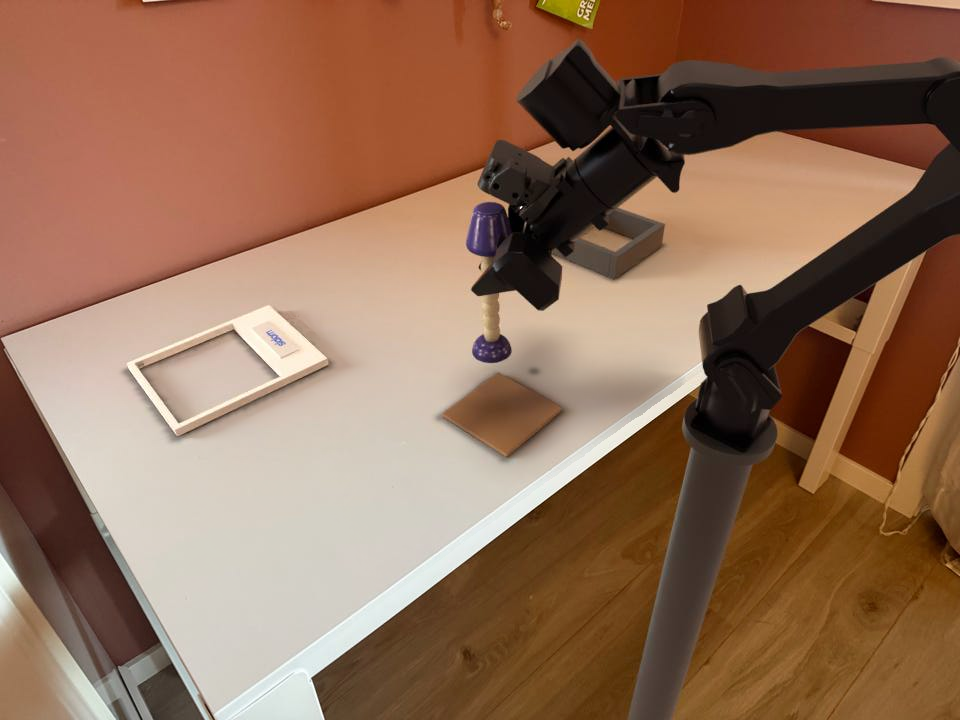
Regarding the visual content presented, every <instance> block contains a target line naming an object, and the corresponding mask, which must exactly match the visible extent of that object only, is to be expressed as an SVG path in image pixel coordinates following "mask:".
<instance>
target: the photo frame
mask: <svg viewBox="0 0 960 720" xmlns="http://www.w3.org/2000/svg"><path fill="white" fill-rule="evenodd" d="M233 330H234V332H235V333H237V334H238V335H239V337H241V338H242V340H243V341H245V343H247V344H248V346H249V347H250V348H251V349H252V350H253V351H254V352H255V353H256V354H257V355H258V356H259V357H260V359H262V360H263V361H264V362H265V363H266V364H267V365H268V366H269V367H270V368H271V369H272V370H273V372H274V373H276V375H277V376H278V377H276V378H274V379H272V380H270V381H267V382H265V383H263V384H260V385H259V386H256V387H254V388H252V389H250V390H249V391H245V392H243V393H241V394H240V395H238V396H235V397H233V398H231V399H228V400H227V401H224V402H222V403H220V404H218V405H216V406H214V407H212V408H210V409H207V410H205V411H202V412H201V413H198V414H196V415H194V416H192V417H190V418H188V419H186V420H183V421H182V422H180V423H179V422H178V421H177V419H176V418H175V417H174V415H173V414H172V413H171V411H170V410H169V408H168V407H167V406H166V404H165V403H164V402H163V400H162V399H161V397H160V396H159V395H158V393H157V392H156V391H155V389H154V388H153V387H152V385H151V384H150V383H149V381H148V380H147V379H146V377H145V376H144V375H143V373H142V371H141V370H140V369H142V368H145V367H146V366H149V365H152V364H154V363H156V362H159V361H161V360H163V359H166V358H168V357H171V356H173V355H176V354H177V353H181V352H183V351H186V350H187V349H190V348H192V347H194V346H197V345H200V344H202V343H204V342H207V341H209V340H211V339H214V338H217V337H219V336H221V335H224V334H226V333H228V332H231V331H233ZM126 365H127V368H128V370H129V371H130V373H131V374H132V376H133V378H135V380H136V381H137V383H138V385H139V386H140V387H141V388H142V390H143V391H144V392H145V394H146V395H147V396H148V398H149V399H150V401H151V402H152V403H153V405H154V406H155V408H156V409H157V411H158V412H159V413H160V414H161V416H162V417H163V419H164V420H165V422H166V423H167V424H168V426H169V427H170V429H171V430H172V431H173V433H174V434H175V435H176V437H180V436H182V435H184V434H186V433H187V432H190V431H192V430H194V429H196V428H199V427H201V426H202V425H204V424H207V423H209V422H211V421H213V420H215V419H217V418H220V417H222V416H223V415H225V414H227V413H230V412H232V411H234V410H236V409H239V408H240V407H242V406H244V405H247V404H249V403H251V402H254V401H255V400H257V399H259V398H261V397H263V396H265V395H268V394H270V393H272V392H274V391H276V390H278V389H281V388H282V387H285V386H287V385H289V384H291V383H293V382H295V381H297V380H299V379H302V378H304V377H306V376H308V375H310V374H313V373H314V372H316V371H318V370H320V369H322V368H324V367H326V366H328V365H329V360H328V357H326V356H325V355H324V354H323V353H322V352H321V351H320V350H319V349H318V348H317V347H315V346H314V345H313V343H311V342H310V341H309V340H308V339H307V338H306V337H305V336H304V335H303V334H301V332H299V331H298V330H297V329H296V328H295V327H294V326H293V325H292V324H291V323H289V321H288V320H287V319H285V318H284V317H283V316H282V315H281V314H280V313H279V312H278V311H276V309H274V308H273V307H272V306H271V305H270V304H268V305H265V306H262V307H260V308H258V309H256V310H252V311H250V312H248V313H246V314H243V315H240V316H238V317H236V318H233V319H230V320H228V321H226V322H223V323H221V324H219V325H217V326H213V327H211V328H209V329H206V330H204V331H202V332H199V333H197V334H194V335H192V336H189V337H187V338H184V339H182V340H180V341H177V342H175V343H172V344H170V345H168V346H167V345H166V346H165V347H163V348H160V349H158V350H157V349H156V350H155V351H153V352H150V353H147V354H145V355H143V356H140V357H137V358H136V359H134V360H131V361H129V362H126Z"/></svg>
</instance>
